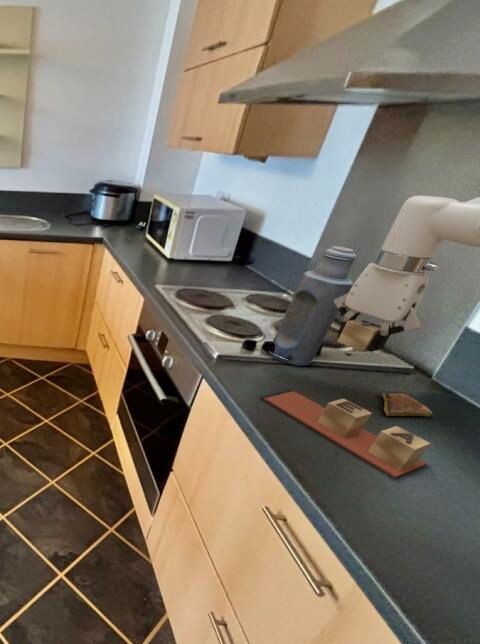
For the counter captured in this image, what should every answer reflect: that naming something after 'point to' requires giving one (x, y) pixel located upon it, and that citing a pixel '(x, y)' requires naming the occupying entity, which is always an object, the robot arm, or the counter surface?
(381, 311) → the robot arm
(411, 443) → the letter A
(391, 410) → the shard
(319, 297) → the bottle
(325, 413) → the letter E
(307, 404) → the word mat
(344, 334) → the letter T
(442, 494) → the counter surface
